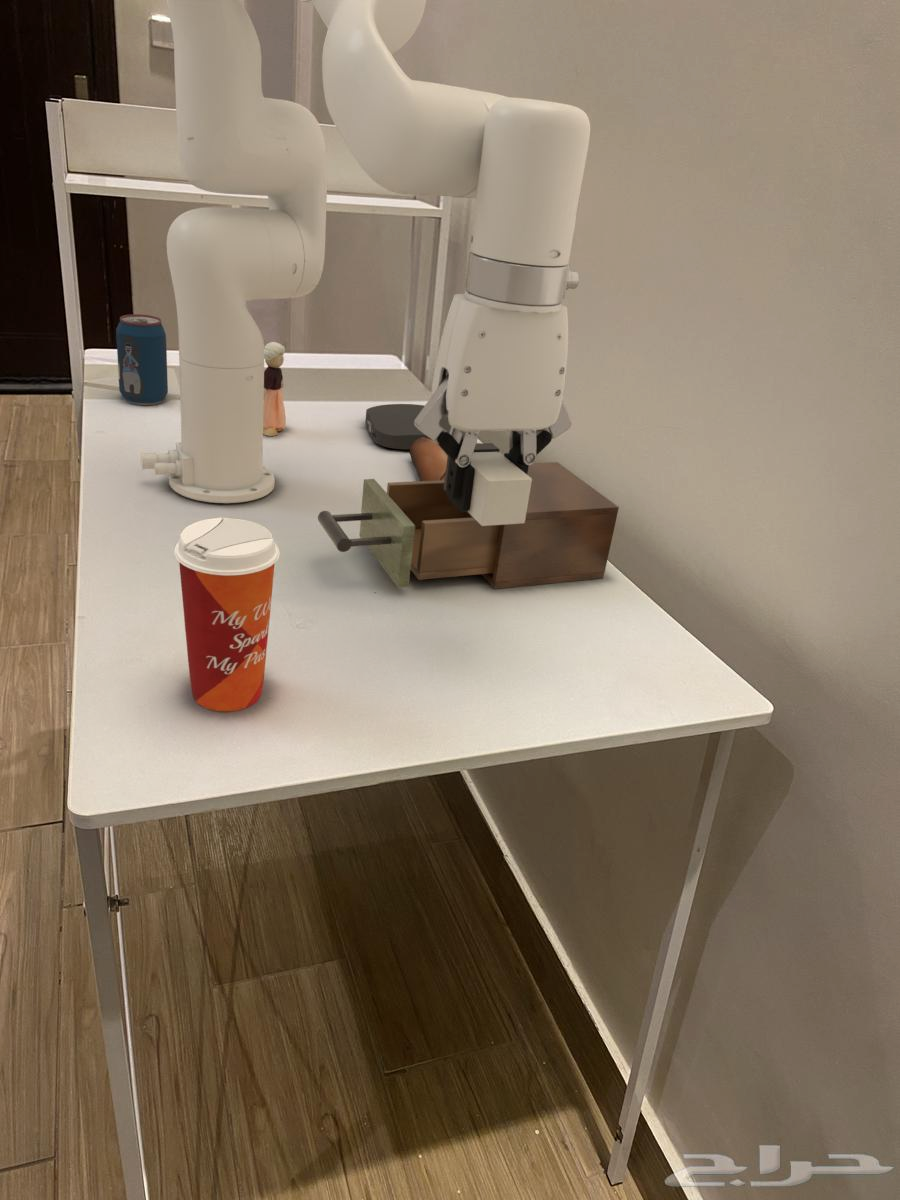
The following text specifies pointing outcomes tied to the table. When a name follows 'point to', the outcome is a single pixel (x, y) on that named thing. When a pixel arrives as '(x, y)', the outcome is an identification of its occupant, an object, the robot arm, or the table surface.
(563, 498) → the cabinet
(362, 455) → the table surface
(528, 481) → the eraser
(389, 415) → the media streaming box
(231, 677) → the paper cup
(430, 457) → the sunglasses case
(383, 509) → the drawer
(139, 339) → the soda can
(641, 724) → the table surface
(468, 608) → the table surface
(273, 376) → the grandmother figurine
